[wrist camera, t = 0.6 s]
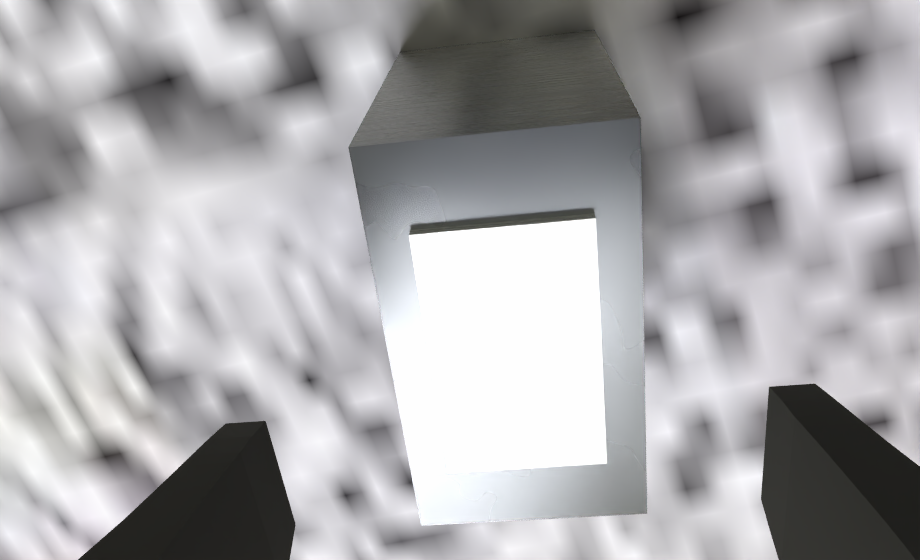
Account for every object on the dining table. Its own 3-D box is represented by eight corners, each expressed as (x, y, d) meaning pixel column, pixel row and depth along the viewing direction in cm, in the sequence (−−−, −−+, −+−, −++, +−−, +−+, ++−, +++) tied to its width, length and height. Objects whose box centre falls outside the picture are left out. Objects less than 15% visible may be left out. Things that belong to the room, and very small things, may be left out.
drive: (594, 29, 18) (642, 121, 12) (606, 328, 22) (648, 520, 16) (400, 51, 19) (346, 151, 12) (444, 341, 22) (420, 532, 16)
